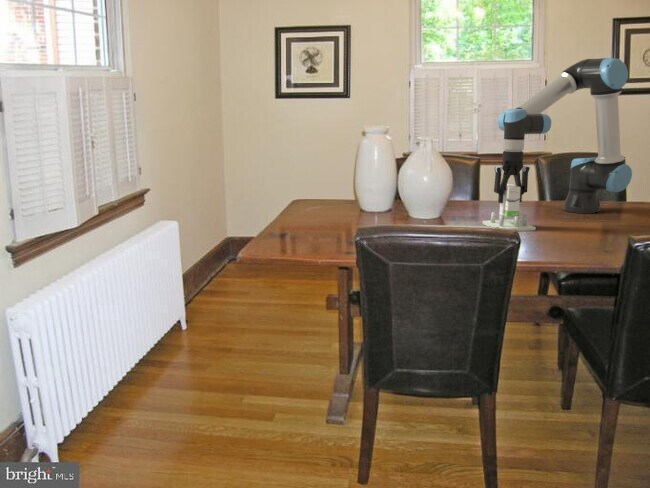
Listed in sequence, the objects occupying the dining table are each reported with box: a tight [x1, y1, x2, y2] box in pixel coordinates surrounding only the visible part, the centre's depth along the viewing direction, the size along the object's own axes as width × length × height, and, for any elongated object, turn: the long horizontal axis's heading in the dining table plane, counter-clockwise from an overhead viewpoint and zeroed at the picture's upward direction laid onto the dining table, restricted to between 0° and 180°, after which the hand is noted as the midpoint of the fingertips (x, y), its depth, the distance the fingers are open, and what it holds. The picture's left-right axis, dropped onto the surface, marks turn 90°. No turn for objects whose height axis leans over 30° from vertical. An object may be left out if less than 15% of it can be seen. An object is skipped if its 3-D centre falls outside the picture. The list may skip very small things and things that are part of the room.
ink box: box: [499, 183, 521, 218], centre depth 269 cm, size 9×5×12 cm, turn 6°
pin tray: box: [482, 211, 536, 232], centre depth 271 cm, size 14×16×5 cm
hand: (509, 211), depth 270 cm, fingers closed on ink box, 5 cm apart
